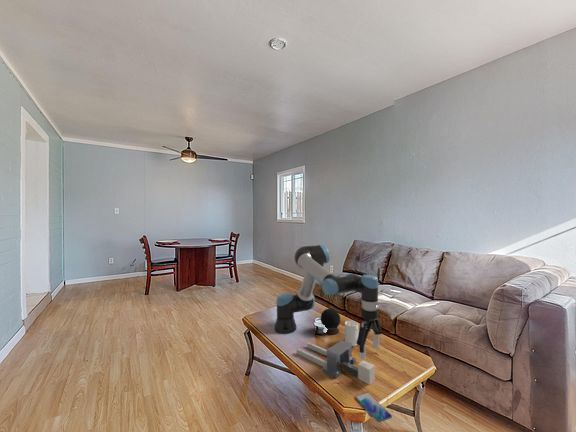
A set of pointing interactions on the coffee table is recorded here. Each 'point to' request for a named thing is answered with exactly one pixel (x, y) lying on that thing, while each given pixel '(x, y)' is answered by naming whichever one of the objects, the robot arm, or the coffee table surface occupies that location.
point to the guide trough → (312, 357)
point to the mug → (351, 332)
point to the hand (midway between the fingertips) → (369, 352)
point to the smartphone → (373, 407)
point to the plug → (361, 371)
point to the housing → (338, 358)
